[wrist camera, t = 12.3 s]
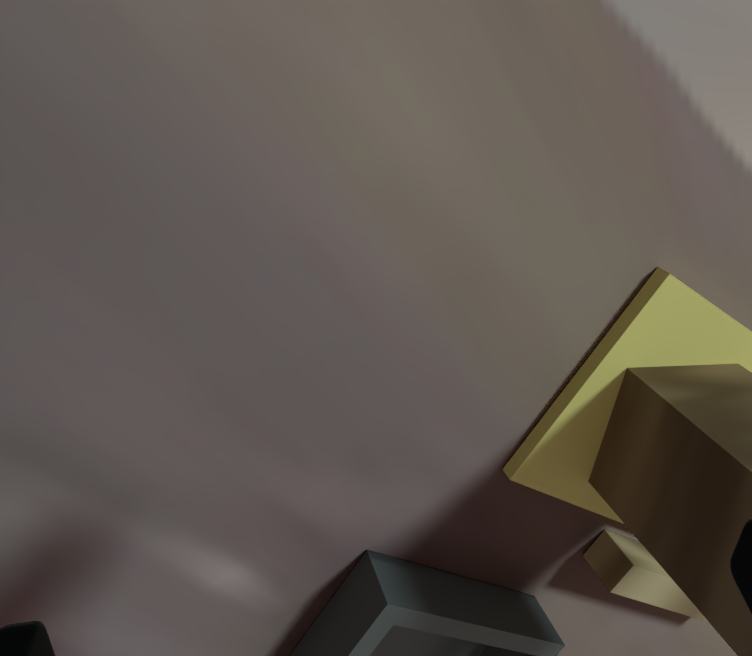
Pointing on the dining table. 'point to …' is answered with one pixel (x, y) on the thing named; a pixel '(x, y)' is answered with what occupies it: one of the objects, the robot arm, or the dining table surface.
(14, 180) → the dining table surface
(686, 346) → the pad
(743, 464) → the walnut block
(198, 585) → the dining table surface
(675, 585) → the brown lane walls
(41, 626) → the robot arm
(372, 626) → the charcoal tray
